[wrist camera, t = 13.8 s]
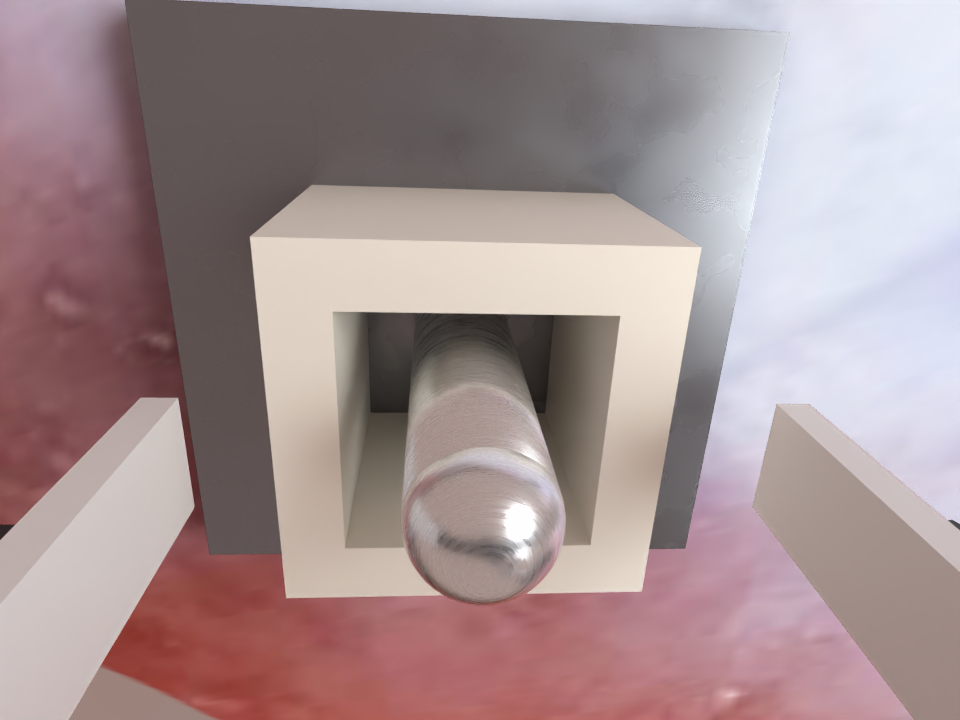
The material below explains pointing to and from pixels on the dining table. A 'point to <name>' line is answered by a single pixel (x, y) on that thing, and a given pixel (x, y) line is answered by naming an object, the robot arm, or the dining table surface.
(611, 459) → the collar
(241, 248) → the post base
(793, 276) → the dining table surface
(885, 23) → the dining table surface
